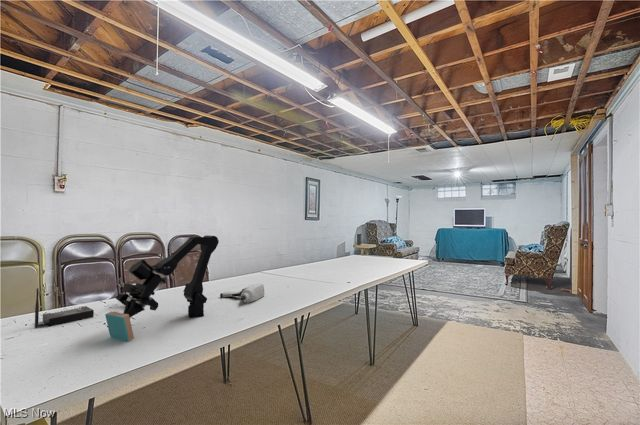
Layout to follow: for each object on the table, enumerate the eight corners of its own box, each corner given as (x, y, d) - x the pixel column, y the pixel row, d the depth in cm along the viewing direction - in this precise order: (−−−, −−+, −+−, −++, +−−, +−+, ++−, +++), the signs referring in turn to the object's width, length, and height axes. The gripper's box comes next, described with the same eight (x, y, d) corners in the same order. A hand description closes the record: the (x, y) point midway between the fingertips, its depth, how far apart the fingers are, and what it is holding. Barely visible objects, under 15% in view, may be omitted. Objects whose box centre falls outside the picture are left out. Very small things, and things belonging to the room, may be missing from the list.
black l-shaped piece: (84, 313, 150) (85, 278, 150) (94, 319, 141) (95, 282, 142) (29, 324, 133) (30, 285, 134) (37, 331, 125) (38, 290, 126)
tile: (116, 334, 120) (111, 311, 118) (134, 338, 117) (128, 314, 115) (110, 337, 118) (105, 314, 116) (128, 341, 114) (122, 317, 113)
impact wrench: (206, 298, 167) (247, 290, 162) (227, 289, 189) (263, 282, 185) (209, 313, 167) (250, 305, 162) (229, 302, 189) (266, 295, 184)
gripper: (120, 273, 126) (91, 307, 116) (152, 277, 119) (124, 313, 109) (137, 288, 133) (111, 321, 123) (168, 293, 126) (144, 328, 116)
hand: (122, 320), depth 117 cm, fingers closed
